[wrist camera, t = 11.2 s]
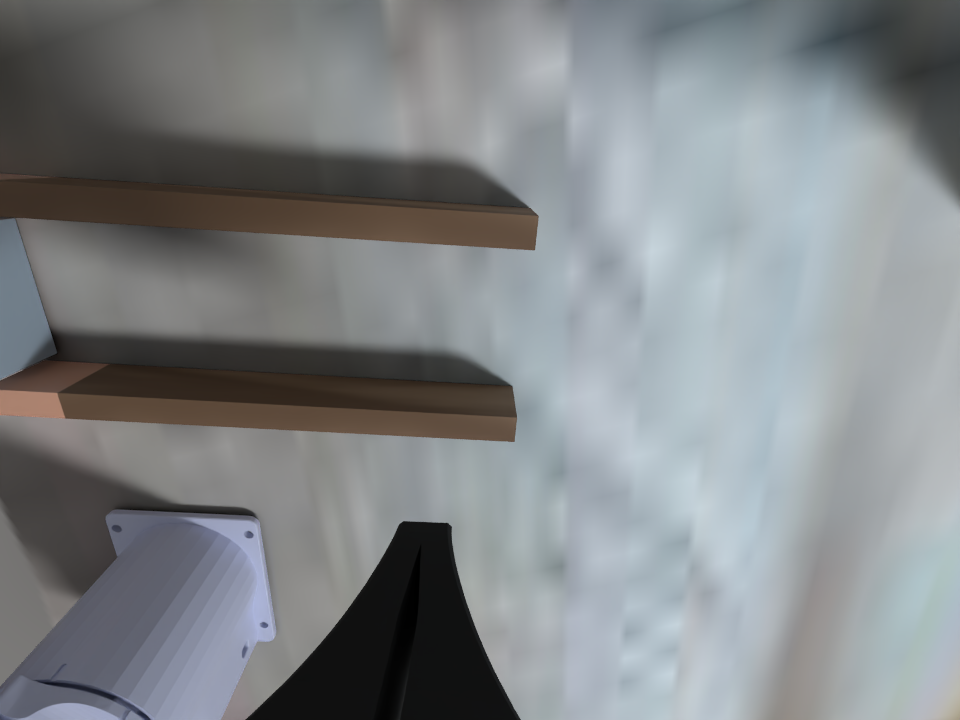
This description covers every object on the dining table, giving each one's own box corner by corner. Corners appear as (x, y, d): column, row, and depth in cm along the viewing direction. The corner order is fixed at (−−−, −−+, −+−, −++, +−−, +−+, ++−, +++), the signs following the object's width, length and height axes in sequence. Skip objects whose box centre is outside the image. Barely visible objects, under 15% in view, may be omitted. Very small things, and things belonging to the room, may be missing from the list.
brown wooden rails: (510, 408, 23) (514, 441, 20) (51, 383, 22) (-8, 414, 20) (530, 208, 19) (538, 216, 17) (-18, 172, 19) (-103, 174, 16)
